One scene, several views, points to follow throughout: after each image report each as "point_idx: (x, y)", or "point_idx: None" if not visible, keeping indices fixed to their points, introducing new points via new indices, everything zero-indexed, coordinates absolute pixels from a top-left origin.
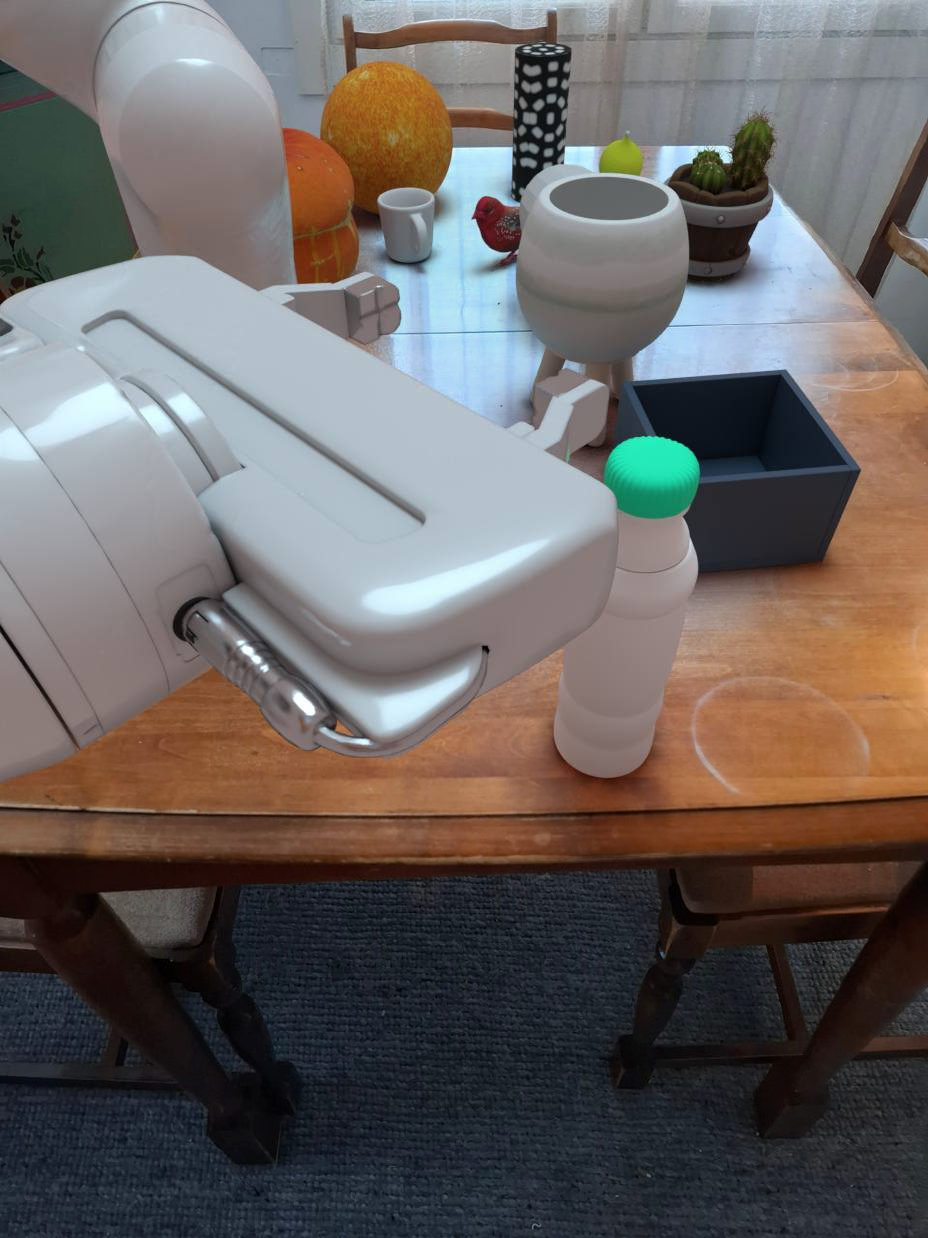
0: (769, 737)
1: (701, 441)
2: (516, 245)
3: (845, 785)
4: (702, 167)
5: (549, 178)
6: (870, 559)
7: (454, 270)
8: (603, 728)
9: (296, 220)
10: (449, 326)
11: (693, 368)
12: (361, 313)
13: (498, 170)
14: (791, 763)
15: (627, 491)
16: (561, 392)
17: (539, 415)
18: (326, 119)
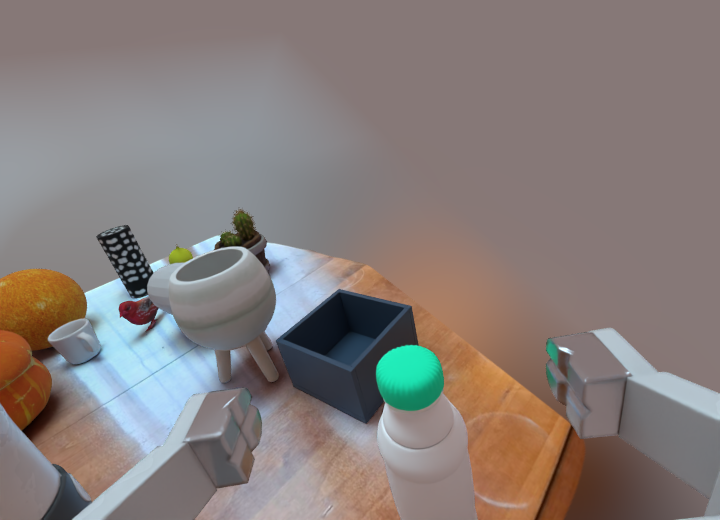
0: (500, 457)
1: (326, 341)
2: (153, 315)
3: (549, 448)
4: (228, 239)
5: (160, 276)
6: (433, 339)
7: (122, 347)
8: None
9: None
10: (140, 376)
11: (286, 315)
12: (230, 452)
13: (115, 291)
14: (522, 461)
15: (416, 396)
16: (618, 367)
17: (595, 410)
18: None
